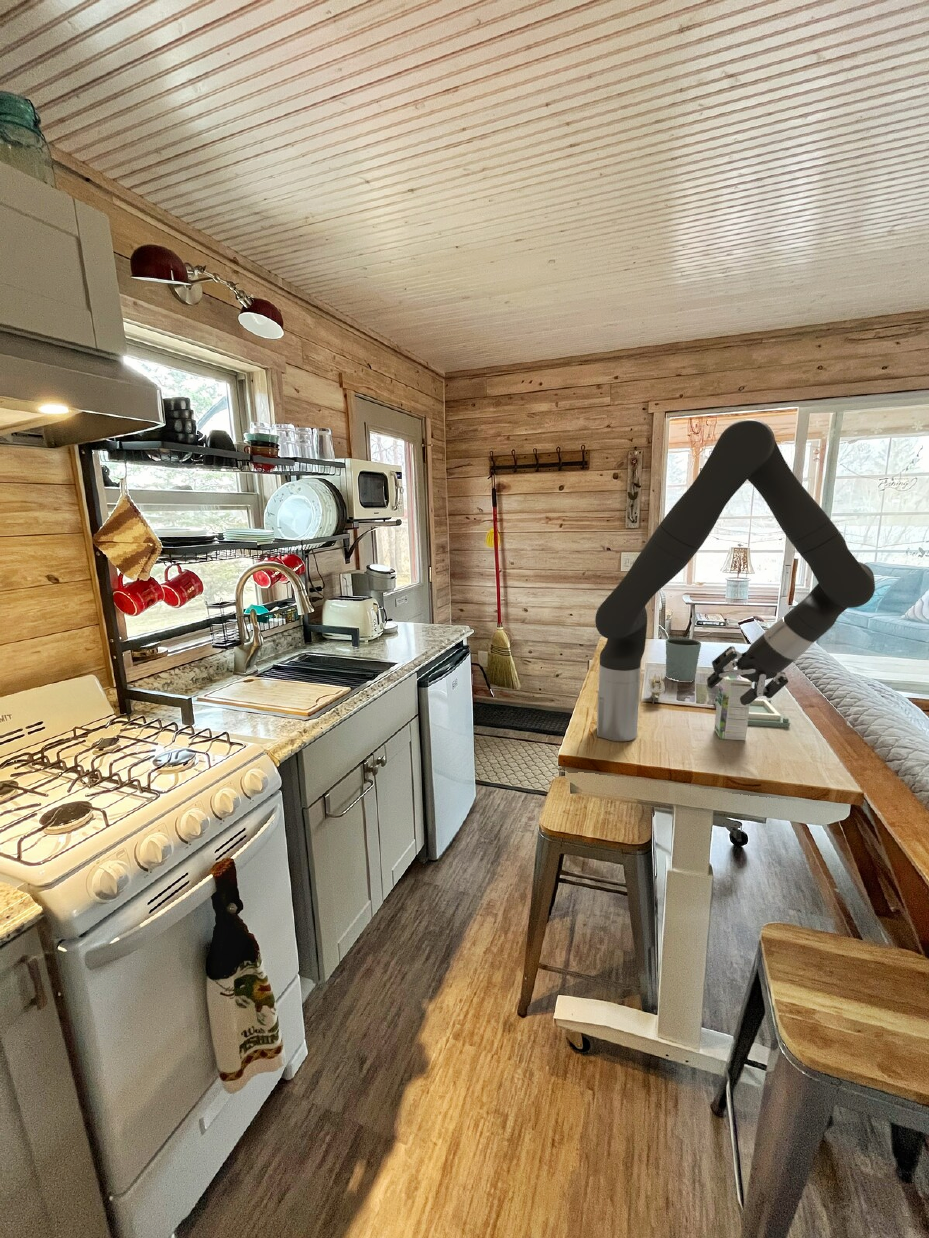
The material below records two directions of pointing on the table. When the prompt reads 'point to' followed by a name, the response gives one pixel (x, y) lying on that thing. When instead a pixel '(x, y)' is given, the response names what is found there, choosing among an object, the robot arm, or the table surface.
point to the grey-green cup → (682, 658)
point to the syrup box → (732, 708)
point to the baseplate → (764, 714)
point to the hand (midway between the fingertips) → (725, 693)
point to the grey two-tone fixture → (653, 689)
